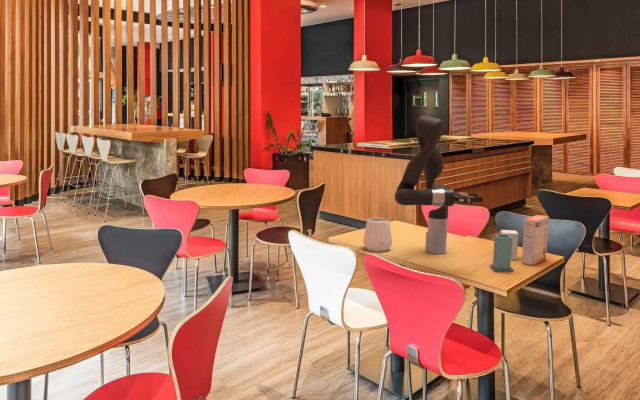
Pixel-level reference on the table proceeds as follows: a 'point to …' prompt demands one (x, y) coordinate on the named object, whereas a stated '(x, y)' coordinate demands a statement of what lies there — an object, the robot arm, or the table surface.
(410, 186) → the robot arm
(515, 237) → the supplement box
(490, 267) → the plate
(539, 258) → the cracker box
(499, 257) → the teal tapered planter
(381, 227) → the vase
